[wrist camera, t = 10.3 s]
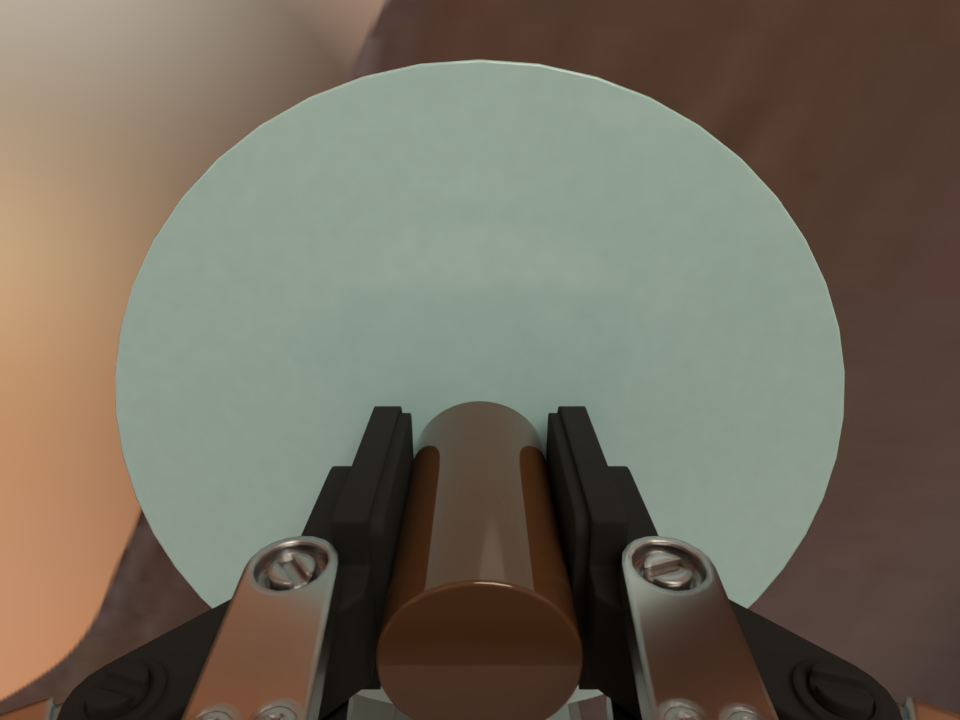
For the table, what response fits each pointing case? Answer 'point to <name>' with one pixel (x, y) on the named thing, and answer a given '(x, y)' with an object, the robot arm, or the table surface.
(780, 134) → the table surface
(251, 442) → the lid
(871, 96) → the table surface
